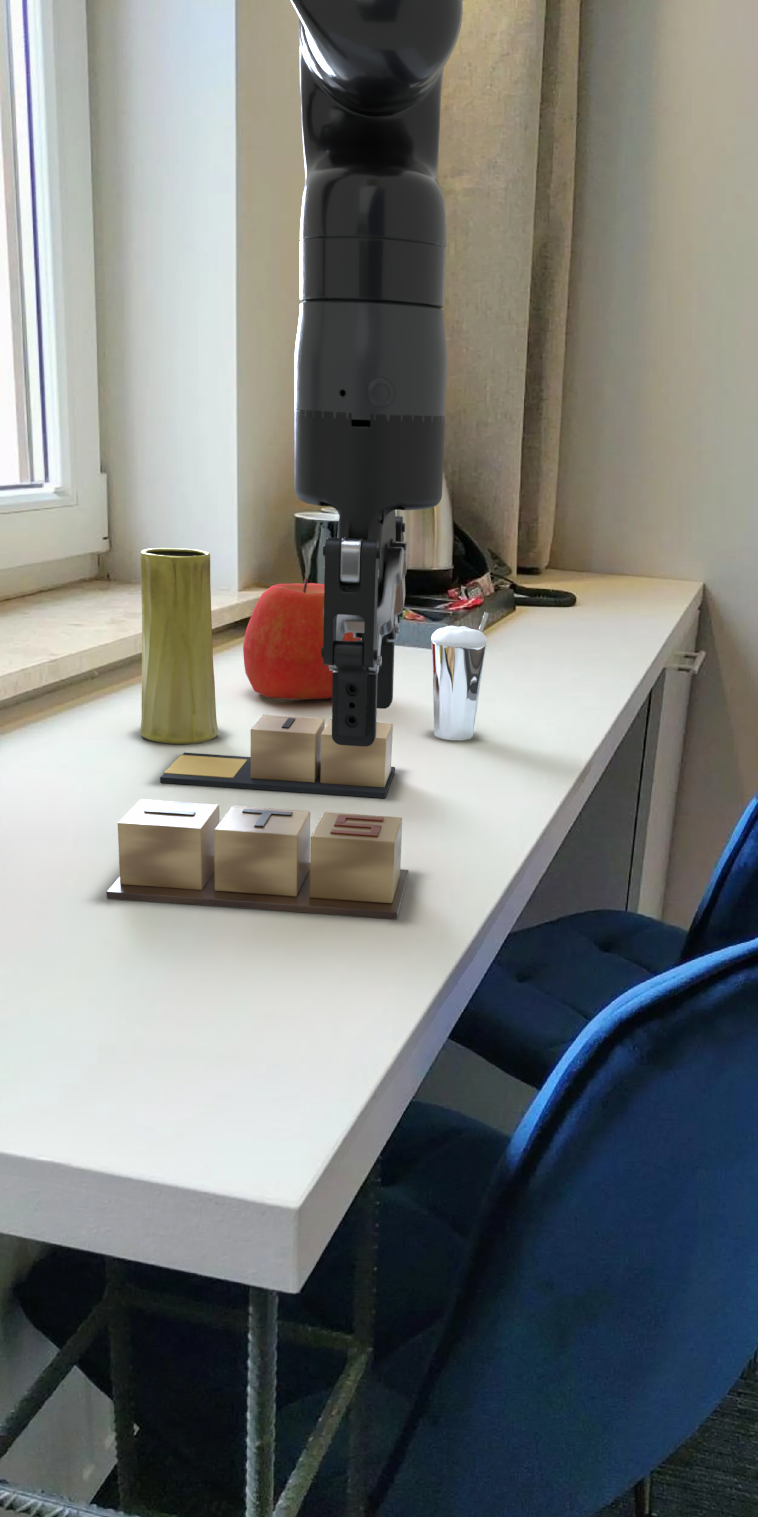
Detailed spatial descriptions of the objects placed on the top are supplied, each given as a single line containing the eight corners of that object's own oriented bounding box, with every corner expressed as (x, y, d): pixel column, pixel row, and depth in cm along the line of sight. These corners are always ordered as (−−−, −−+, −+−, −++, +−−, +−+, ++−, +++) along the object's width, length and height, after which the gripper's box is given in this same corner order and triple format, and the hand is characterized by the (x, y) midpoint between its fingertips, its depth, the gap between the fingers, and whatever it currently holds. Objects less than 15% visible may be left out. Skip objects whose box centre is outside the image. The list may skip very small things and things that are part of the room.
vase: (141, 725, 109) (135, 546, 104) (217, 726, 110) (215, 548, 105) (138, 744, 103) (132, 555, 98) (219, 745, 104) (217, 558, 99)
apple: (301, 715, 115) (302, 590, 111) (216, 693, 121) (215, 574, 117) (384, 698, 123) (388, 581, 119) (300, 678, 129) (302, 566, 125)
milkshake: (498, 737, 112) (507, 617, 108) (453, 745, 108) (460, 622, 105) (460, 725, 115) (467, 608, 111) (415, 734, 111) (420, 613, 107)
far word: (159, 782, 94) (158, 725, 92) (184, 757, 100) (183, 703, 99) (385, 798, 93) (387, 741, 92) (395, 772, 100) (397, 718, 98)
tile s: (309, 898, 73) (310, 834, 72) (321, 870, 78) (323, 809, 76) (392, 904, 73) (394, 840, 72) (400, 876, 78) (402, 815, 76)
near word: (106, 898, 73) (103, 827, 71) (141, 856, 79) (139, 790, 78) (397, 919, 72) (400, 848, 71) (408, 875, 79) (411, 809, 77)
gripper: (317, 401, 73) (315, 693, 79) (268, 403, 60) (270, 754, 66) (453, 407, 73) (441, 700, 79) (435, 411, 59) (422, 763, 65)
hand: (363, 724), depth 72 cm, fingers open, 8 cm apart
